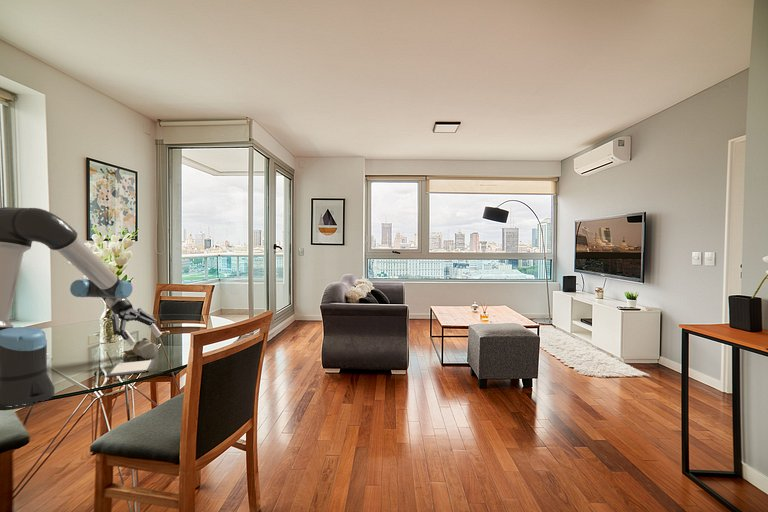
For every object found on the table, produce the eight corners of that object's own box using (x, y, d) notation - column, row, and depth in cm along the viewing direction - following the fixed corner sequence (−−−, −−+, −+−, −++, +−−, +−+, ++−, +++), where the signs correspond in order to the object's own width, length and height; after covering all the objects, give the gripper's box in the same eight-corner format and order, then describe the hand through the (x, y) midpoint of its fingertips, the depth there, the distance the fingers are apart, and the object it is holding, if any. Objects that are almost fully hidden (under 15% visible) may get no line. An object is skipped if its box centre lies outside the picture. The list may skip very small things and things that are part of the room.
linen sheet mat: (106, 376, 142) (106, 374, 142) (115, 364, 155) (115, 362, 155) (148, 372, 147) (148, 370, 147) (154, 360, 160) (154, 359, 160)
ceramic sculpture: (139, 342, 157) (122, 338, 165) (140, 362, 157) (122, 358, 165) (164, 337, 166) (147, 333, 174) (165, 356, 166) (148, 352, 174)
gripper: (138, 304, 181) (164, 337, 178) (86, 315, 157) (115, 353, 154) (147, 294, 179) (173, 327, 177) (96, 303, 155) (125, 342, 153)
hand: (146, 339), depth 165 cm, fingers open, 13 cm apart
